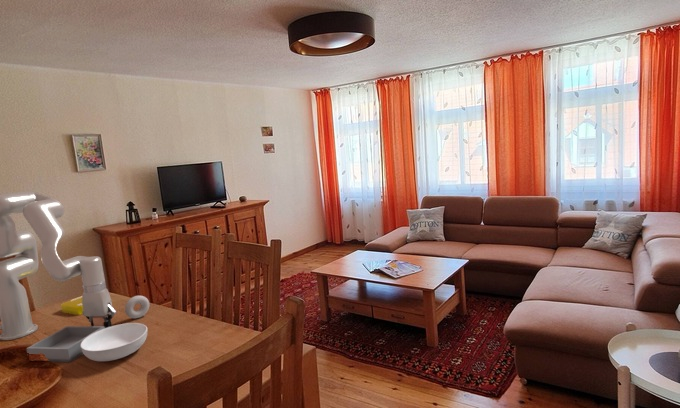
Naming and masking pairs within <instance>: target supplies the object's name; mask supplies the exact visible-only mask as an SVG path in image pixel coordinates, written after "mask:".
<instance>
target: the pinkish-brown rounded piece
mask: <svg viewBox="0 0 680 408" xmlns="http://www.w3.org/2000/svg"><path fill="white" fill-rule="evenodd" d="M106 317H108V316H107V315H106ZM92 319H93V324H94V326H104V322H105V321H104V319H103V317H102V316H93V317H92Z"/></svg>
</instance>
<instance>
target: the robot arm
mask: <svg viewBox="0 0 680 408" xmlns="http://www.w3.org/2000/svg"><path fill="white" fill-rule="evenodd" d="M16 214H22V215H23V216H24V218H25V220H26V221H27V223H28V224H29V226H30V227H31V229H32V230H33V232H34V233H35V234H36V235H37V238H38V239H39V240H40V242H41V247H40V259H41V263H42V265H43V267H44V268H45V270H46V271H47V273H48V274H49V276H50V277H52V279H53V280H55V281H57V282H65V281H69V280H70V279H71V280H72V279H73V278H75V277H78V276H80V277H81V282H82V286H81V288H83V292H82V295H81V296H82V304H83V312H82V316H84V317H86V319H87V320H88V322H89V323H90V326H94V324H93V319H92V317H93V316H102V317H103V319H104V321H105V322H104V326H105V328H108V327H111V326H113V325H112V320H113V318H114V316H115V315H116V314H117V310H116V309H114V307H113V303H112V298H111V295H110V293H109V289H108V288H107V285H106V279H105V274H104V273H105V272H104V268H103V262H102V260H103V259H102V258H101V257H100V256H97V255H96V256H85V255H77V256H74V257H70V258H67V259H64V260H62V259H61V258H60V256H59V255H58V251H57V246H58V244H59V241H60V240H61V239H62V238H63V237H64V236H65V235H66V230H65V228H63V226H62V225H61V223H60V221H59V220H58V219H59V218H61V217H63V215H64V214H65V207H64V205H63V204H62V203H61V202H60V201H59V200H58V199H56V198H54V197H51V196H48V195H44V194H41V193H39V192H36V191H31V190H26V191H25V190H24V191H17V192H8V193H1V194H0V259H4V260H1V261H0V322H1V323H0V331H1V333H0V340H1V341H10V340H11V341H12V340H15V339H20V338H23V337H26V336H28V335H31V334H33V333H35V332H36V331H38V329H39V326H38V324H36V323H33V320H32V314H31V310H30V303H29V298H28V294H27V290H26V288H25V287H24V285H23V284H22V283H20V282H19V281H20V280H22V279H25V278H27V277H30V276H32V275H34V274H35V273H37V272H38V270H39V265H40V264H39V254H38V245H37V239H36V237H35V236H34V233H32V232H30V231H28V230H24V229H21V230H16V229H17V228H16V222H15V221H14V219H13V218H12V217H11V215H16ZM13 256H15V257H13ZM9 257H10V258H9ZM5 258H6V259H5ZM7 258H8V259H7ZM106 315H107V316H108V317H106Z"/></svg>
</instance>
